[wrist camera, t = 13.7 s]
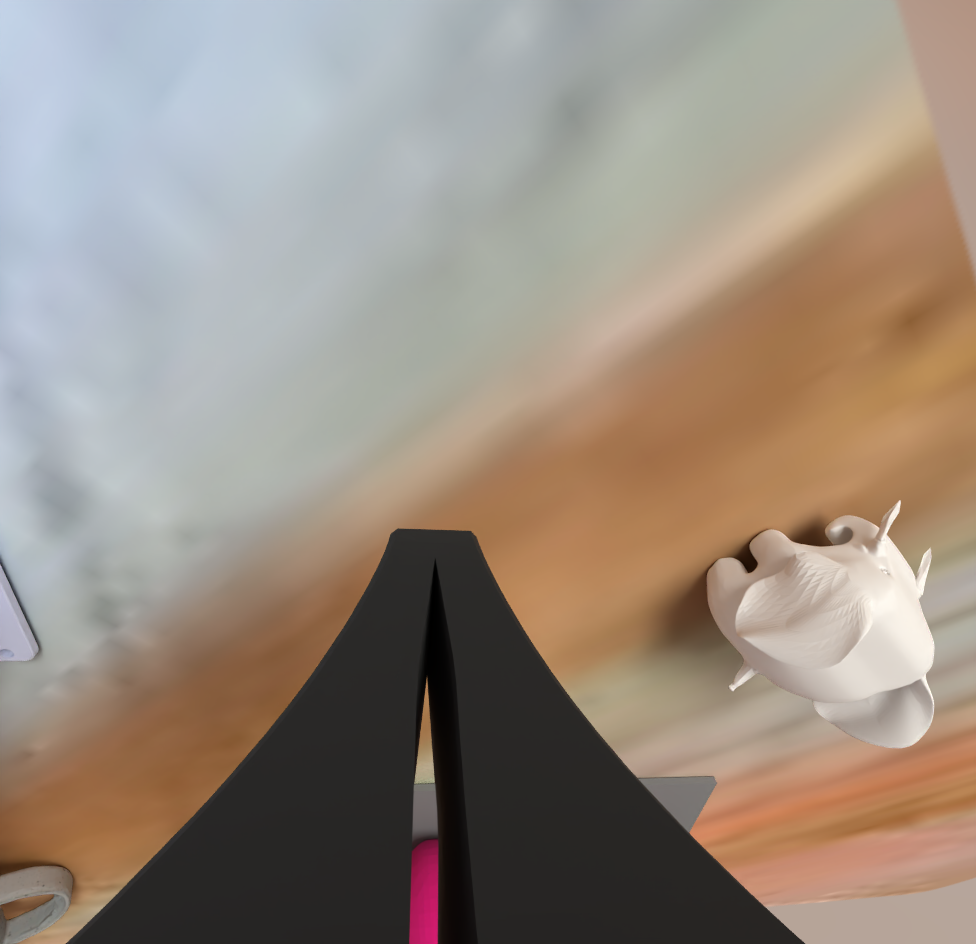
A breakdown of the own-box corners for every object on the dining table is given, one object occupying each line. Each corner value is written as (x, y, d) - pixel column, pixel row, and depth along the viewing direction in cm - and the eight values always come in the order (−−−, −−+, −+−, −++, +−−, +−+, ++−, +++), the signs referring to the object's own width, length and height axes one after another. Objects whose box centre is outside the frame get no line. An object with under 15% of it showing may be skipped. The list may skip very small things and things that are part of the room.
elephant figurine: (911, 544, 24) (1070, 675, 18) (730, 654, 27) (814, 799, 21) (844, 440, 21) (1009, 557, 15) (645, 577, 24) (717, 722, 18)
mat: (383, 897, 38) (382, 904, 37) (384, 784, 31) (383, 792, 30) (654, 883, 40) (656, 890, 40) (713, 776, 33) (716, 783, 33)
